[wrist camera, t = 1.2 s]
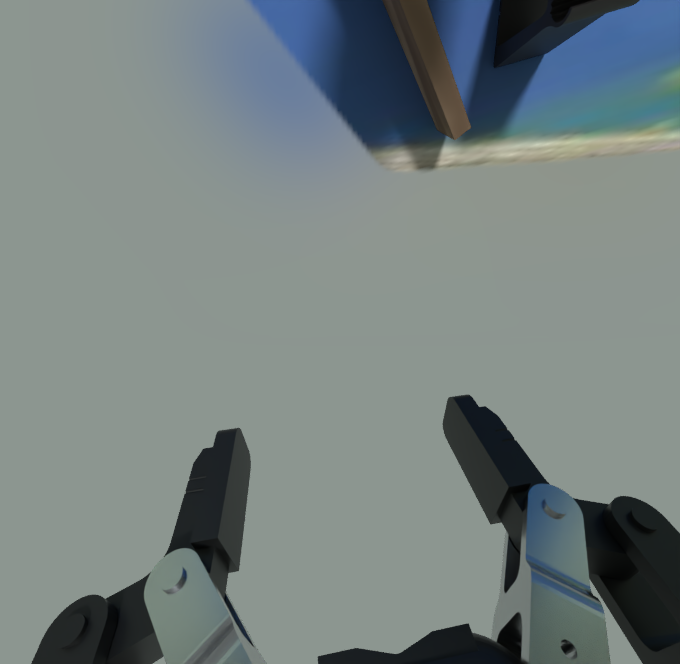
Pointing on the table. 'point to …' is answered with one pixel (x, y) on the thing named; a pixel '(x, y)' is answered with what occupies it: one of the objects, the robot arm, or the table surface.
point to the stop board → (429, 64)
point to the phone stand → (544, 25)
